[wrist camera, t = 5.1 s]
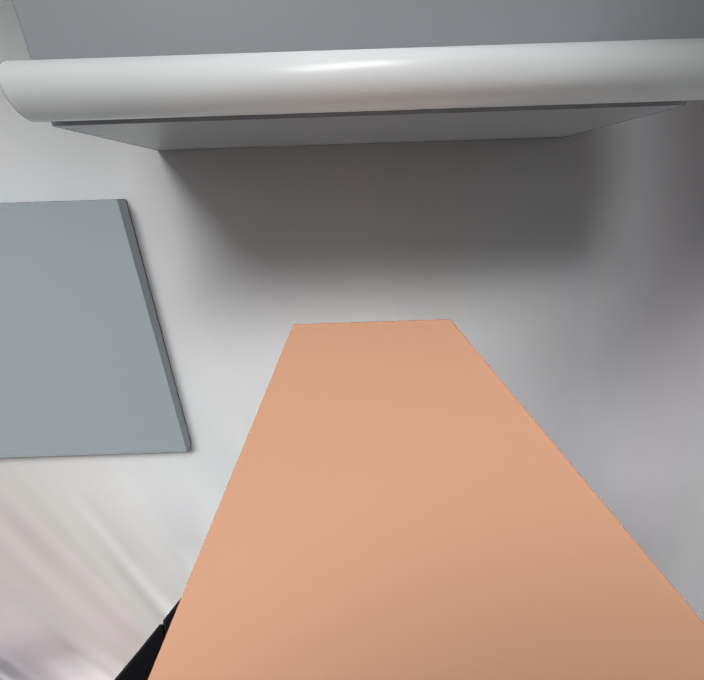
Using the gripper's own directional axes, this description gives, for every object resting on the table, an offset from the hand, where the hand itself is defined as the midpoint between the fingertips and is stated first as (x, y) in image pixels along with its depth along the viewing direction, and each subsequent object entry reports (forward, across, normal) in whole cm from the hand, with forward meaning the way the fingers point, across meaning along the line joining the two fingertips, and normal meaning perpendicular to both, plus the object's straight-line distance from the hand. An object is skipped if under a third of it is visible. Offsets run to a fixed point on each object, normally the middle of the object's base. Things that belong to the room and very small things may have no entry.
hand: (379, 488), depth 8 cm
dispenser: (+7, 0, -10) cm, 12 cm away
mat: (+7, +14, -1) cm, 16 cm away
